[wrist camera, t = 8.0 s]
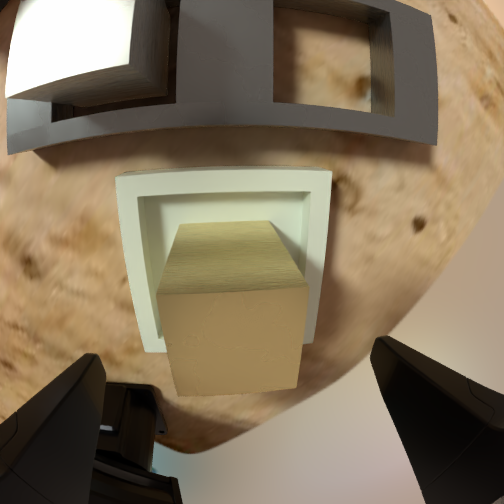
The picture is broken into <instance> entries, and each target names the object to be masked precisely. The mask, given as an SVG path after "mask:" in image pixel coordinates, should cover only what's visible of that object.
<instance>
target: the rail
mask: <svg viewBox="0 0 504 504" xmlns="http://www.w3.org/2000/svg"><path fill="white" fill-rule="evenodd" d="M164 1H165V4H166V7H175V6H180V14H179V29H178V47H177V73H176V104H164V105H153V106H144V107H136V108H128V109H121V110H114V111H108V112H102V113H96V114H91V115H86V116H81V117H76V118H73V105H66V104H59V103H51V102H42V101H33V100H22V99H10V98H7V150H8V155H12V154H16V153H22V152H27V151H32V150H36V149H40V148H45V147H49V146H54V145H59V144H63V143H68V142H74V141H79V140H85V139H91V138H97V137H103V136H110V135H117V134H125V133H133V132H143V131H153V130H164V129H178V128H196V127H231V126H249V127H285V128H303V129H317V130H328V131H339V132H348V133H356V134H364V135H371V136H378V137H385V138H391V139H397V140H403V141H408V142H415V143H422V144H429V145H435V146H437V132H438V81H437V63H436V51H435V42H434V33H433V26H432V19H431V15H429V14H427V13H424V12H422V11H420V10H418V9H415V8H413V7H411V6H408V5H406V4H403V3H401V2H398V1H395V0H164ZM273 7H283V8H292V9H299V10H306V11H312V12H318V13H323V14H328V15H333V16H338V17H343V18H347V19H351V20H355V21H359V22H363V23H366V24H368V26H369V40H370V59H371V113H368V112H362V111H355V110H348V109H341V108H333V107H325V106H316V105H305V104H292V103H276V102H273Z"/></svg>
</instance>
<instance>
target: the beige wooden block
mask: <svg viewBox="0 0 504 504" xmlns="http://www.w3.org/2000/svg"><path fill="white" fill-rule="evenodd" d="M309 288H310V287H309V285H308V284H307V282H306V280H305V279H304V277H303V275H302V274H301V272H300V270H299V269H298V267H297V265H296V264H295V262H294V261H293V259H292V257H291V256H290V254H289V252H288V251H287V249H286V248H285V246H284V244H283V243H282V241H281V239H280V238H279V236H278V235H277V233H276V231H275V230H274V228H273V227H272V225H271V223H270V222H269V220H262V221H232V222H208V223H186V224H180V225H179V227H178V230H177V233H176V236H175V238H174V241H173V244H172V247H171V250H170V253H169V256H168V259H167V262H166V265H165V268H164V271H163V274H162V277H161V280H160V283H159V286H158V289H157V293H156V300H157V305H158V311H159V316H160V321H161V326H162V331H163V336H164V341H165V346H166V350H167V355H168V359H169V363H170V367H171V372H172V376H173V380H174V384H175V388H176V391H177V395H178V396H215V395H233V394H246V393H258V392H268V391H277V390H285V389H292V388H296V387H297V380H298V374H299V367H300V360H301V353H302V346H303V339H304V331H305V323H306V315H307V306H308V297H309Z"/></svg>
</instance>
